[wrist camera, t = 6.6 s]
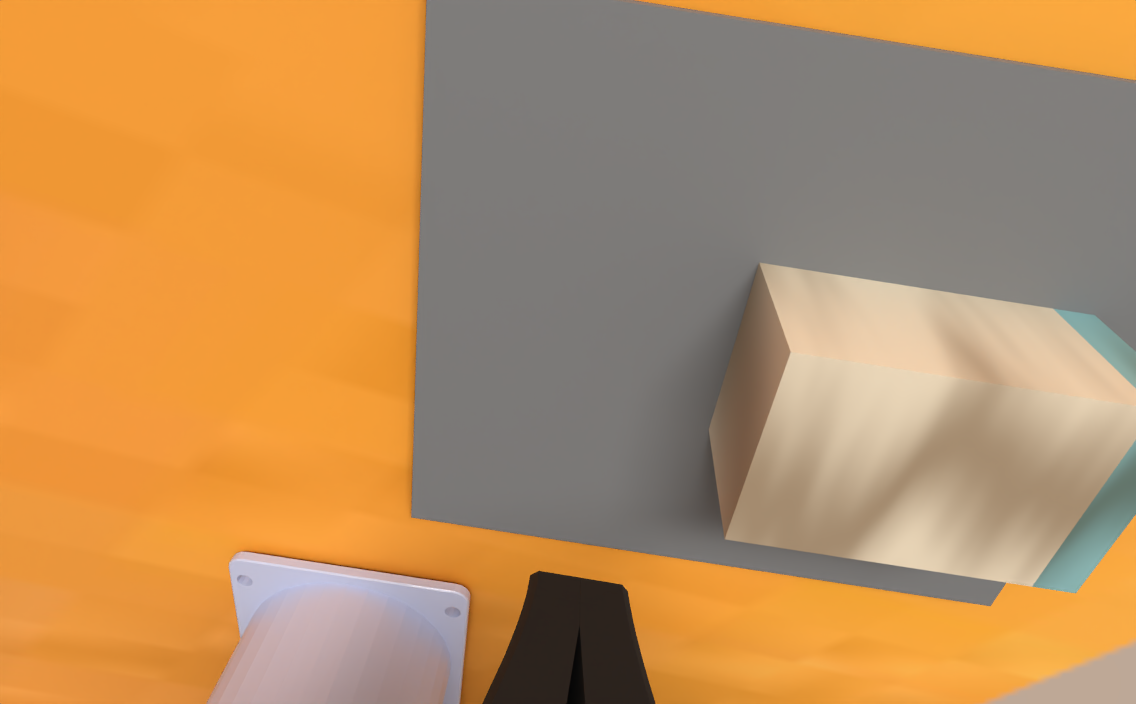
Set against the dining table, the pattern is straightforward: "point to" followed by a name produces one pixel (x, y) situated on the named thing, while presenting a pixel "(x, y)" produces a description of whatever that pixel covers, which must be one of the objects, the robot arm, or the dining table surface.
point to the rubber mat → (712, 243)
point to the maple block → (925, 430)
